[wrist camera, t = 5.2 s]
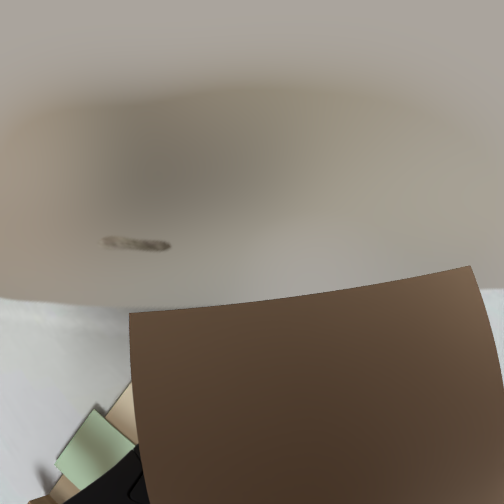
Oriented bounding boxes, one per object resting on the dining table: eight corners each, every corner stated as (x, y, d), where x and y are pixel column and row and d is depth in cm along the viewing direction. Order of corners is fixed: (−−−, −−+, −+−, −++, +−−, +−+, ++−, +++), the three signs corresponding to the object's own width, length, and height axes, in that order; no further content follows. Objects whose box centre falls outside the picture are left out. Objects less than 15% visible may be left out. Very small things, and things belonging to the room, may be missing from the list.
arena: (196, 599, 9) (192, 619, 6) (39, 490, 12) (16, 496, 9) (351, 422, 18) (370, 425, 15) (171, 311, 21) (161, 296, 18)
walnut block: (310, 448, 13) (503, 523, 1) (224, 462, 12) (199, 633, 1) (296, 372, 15) (470, 265, 3) (213, 383, 14) (128, 312, 3)
